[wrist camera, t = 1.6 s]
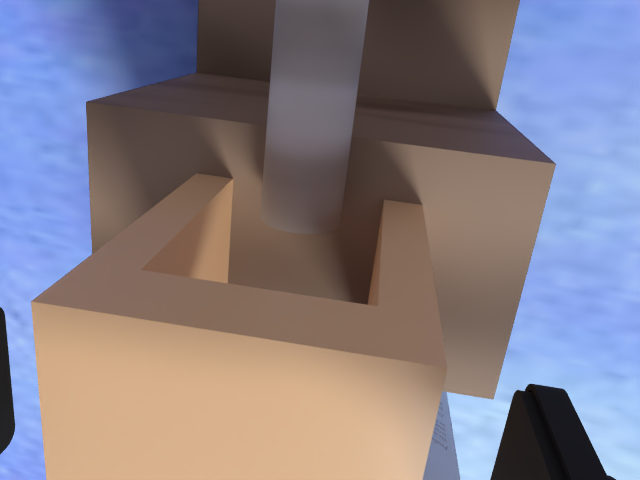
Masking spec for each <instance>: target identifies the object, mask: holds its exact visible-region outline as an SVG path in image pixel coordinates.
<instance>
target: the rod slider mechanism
mask: <svg viewBox="0 0 640 480" xmlns="http://www.w3.org/2000/svg"><path fill="white" fill-rule="evenodd" d="M519 2H520V0H199V3H198V39H197V73H193V74H189V75H185V76H182V77H178V78H174V79H170V80H167V81H163V82H159V83H155V84H152V85H148V86H144V87H140V88H136V89H133V90H129V91H125V92H121V93H118V94H114V95H110V96H106V97H102V98H99V99H95V100H91V101H87V102H86V113H87V138H88V162H89V187H90V211H91V236H92V254H93V253H94V252H96V251H97V250H98V249H100V248H101V247H102V246H103V245H105V244H106V243H107V242H109V241H110V240H111V239H113V238H114V237H115V236H116V235H118V234H119V233H120V232H122V231H123V230H124V229H125V228H127V227H128V226H129V225H131V224H132V223H133V222H134V221H136V220H137V219H138V218H140V217H141V216H142V215H144V214H145V213H146V212H147V211H149V210H150V209H151V208H153V207H154V206H155V205H156V204H158V203H159V202H160V201H162V200H163V199H164V198H165V197H167V196H168V195H169V194H171V193H172V192H173V191H174V190H176V189H177V188H178V187H180V186H181V185H182V184H184V183H185V182H186V181H187V180H189V179H190V178H191V177H193V176H194V175H195V174H196V173H198V174H205V175H212V176H219V177H226V178H233V194H232V212H231V231H230V249H229V267H228V283H229V284H235V285H242V286H248V287H255V288H261V289H268V290H274V291H281V292H287V293H294V294H300V295H307V296H314V297H320V298H327V299H333V300H340V301H346V302H353V303H359V304H366V305H368V299H369V292H370V286H371V279H372V273H373V267H374V260H375V254H376V247H377V241H378V235H379V228H380V222H381V216H382V209H383V203H384V200H391V201H398V202H405V203H412V204H420V205H423V211H424V217H425V224H426V230H427V237H428V244H429V250H430V257H431V263H432V270H433V276H434V283H435V289H436V296H437V302H438V309H439V315H440V322H441V328H442V335H443V341H444V348H445V355H446V361H447V373H446V377H445V382H444V386H443V391H445V392H451V393H457V394H463V395H469V396H476V397H482V398H488V399H494V395H495V391H496V388H497V384H498V380H499V376H500V372H501V369H502V365H503V361H504V357H505V354H506V350H507V346H508V342H509V339H510V335H511V331H512V327H513V324H514V320H515V316H516V312H517V308H518V305H519V301H520V297H521V293H522V290H523V286H524V282H525V278H526V275H527V271H528V267H529V263H530V260H531V256H532V252H533V248H534V245H535V241H536V237H537V233H538V229H539V226H540V222H541V218H542V214H543V211H544V207H545V203H546V199H547V196H548V192H549V188H550V184H551V181H552V177H553V173H554V169H555V165H556V164H555V163H554V162H553V161H552V160H551V159H550V158H549V157H547V156H546V155H545V154H544V153H543V152H542V151H541V150H540V149H538V148H537V147H536V146H535V145H534V144H533V143H532V142H531V141H529V140H528V139H527V138H526V137H525V136H524V135H523V134H522V133H521V132H519V131H518V130H517V129H516V128H515V127H514V126H513V125H512V124H510V123H509V122H508V121H507V120H506V119H505V118H504V117H503V116H501V115H500V114H499V113H498V112H497V111H496V107H497V102H498V98H499V93H500V89H501V84H502V79H503V75H504V70H505V66H506V61H507V57H508V52H509V47H510V43H511V38H512V34H513V29H514V25H515V20H516V15H517V11H518V6H519Z"/></svg>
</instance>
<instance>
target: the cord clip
mask: <svg viewBox="0 0 640 480" xmlns="http://www.w3.org/2000/svg"><path fill="white" fill-rule="evenodd" d="M232 194H233V178H226V177H219V176H212V175H205V174H198V173H196V174H195V175H194V176H193V177H191V178H190V179H189V180H187V181H186V182H185V183H184V184H182V185H181V186H180V187H178V188H177V189H176V190H174V191H173V192H172V193H171V194H169V195H168V196H167V197H165V198H164V199H163V200H162V201H160V202H159V203H158V204H156V205H155V206H154V207H153V208H151V209H150V210H149V211H147V212H146V213H145V214H144V215H142V216H141V217H140V218H138V219H137V220H136V221H134V222H133V223H132V224H131V225H129V226H128V227H127V228H125V229H124V230H123V231H122V232H120V233H119V234H118V235H116V236H115V237H114V238H113V239H111V240H110V241H109V242H107V243H106V244H105V245H103V246H102V247H101V248H100V249H98V250H97V251H96V252H94V253H93V254H92V255H91V256H89V257H88V258H87V259H85V260H84V261H83V262H82V263H80V264H79V265H78V266H76V267H75V268H74V269H73V270H71V271H70V272H69V273H67V274H66V275H65V276H63V277H62V278H61V279H60V280H58V281H57V282H56V283H54V284H53V285H52V286H51V287H49V288H48V289H47V290H45V291H44V292H43V293H42V294H40V295H39V296H38V297H36V298H35V299H34V300H33V301H31V305H32V317H33V328H34V340H35V351H36V363H37V375H38V386H39V398H40V409H41V421H42V433H43V444H44V456H45V467H46V479H47V480H423V475H424V471H425V466H426V462H427V457H428V453H429V448H430V444H431V439H432V435H433V431H434V426H435V422H436V417H437V413H438V408H439V404H440V399H441V395H442V391H443V386H444V382H445V377H446V373H447V361H446V355H445V348H444V341H443V335H442V328H441V322H440V315H439V309H438V302H437V296H436V289H435V283H434V276H433V270H432V263H431V257H430V250H429V244H428V237H427V230H426V224H425V217H424V211H423V205H420V204H412V203H405V202H398V201H391V200H384V203H383V209H382V216H381V222H380V228H379V235H378V241H377V247H376V254H375V260H374V267H373V273H372V279H371V286H370V292H369V299H368V305H366V304H359V303H353V302H346V301H340V300H333V299H327V298H320V297H314V296H307V295H300V294H294V293H287V292H281V291H274V290H268V289H261V288H255V287H248V286H242V285H235V284H229V283H228V267H229V249H230V231H231V212H232Z"/></svg>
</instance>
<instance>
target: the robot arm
mask: <svg viewBox="0 0 640 480" xmlns="http://www.w3.org/2000/svg"><path fill="white" fill-rule="evenodd" d="M14 431H15V420H14V409H13V398H12V387H11V376H10V365H9V354H8V343H7V332H6V322H5V314H4V311H3V309H2V308H1V307H0V454H1V453H2V452H3V451H4V450H5V449H6V448H7V446H8V445H9V444H10V442H11V440H12V437H13V435H14ZM491 480H616V479H614V478H613V477H611V476H608V475H606V473H605V471H604V469H603V466H602V464H601V462H600V460H599V458H598V456H597V454H596V452H595V450H594V448H593V446H592V444H591V442H590V440H589V438H588V435H587V433H586V431H585V429H584V427H583V425H582V423H581V421H580V419H579V417H578V415H577V413H576V411H575V409H574V407H573V405H572V402H571V400H570V398H569V396H568V394H567V392H566V391H565V390H564V389H561V388H554V387H548V386H542V385H536V384H529V385H528V386H527V387H526V389H525V391H520V390H517V391H516V392H515V393H514V396H513V399H512V403H511V406H510V410H509V414H508V417H507V421H506V425H505V428H504V432H503V436H502V439H501V443H500V447H499V450H498V454H497V458H496V461H495V465H494V469H493V472H492V476H491Z"/></svg>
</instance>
